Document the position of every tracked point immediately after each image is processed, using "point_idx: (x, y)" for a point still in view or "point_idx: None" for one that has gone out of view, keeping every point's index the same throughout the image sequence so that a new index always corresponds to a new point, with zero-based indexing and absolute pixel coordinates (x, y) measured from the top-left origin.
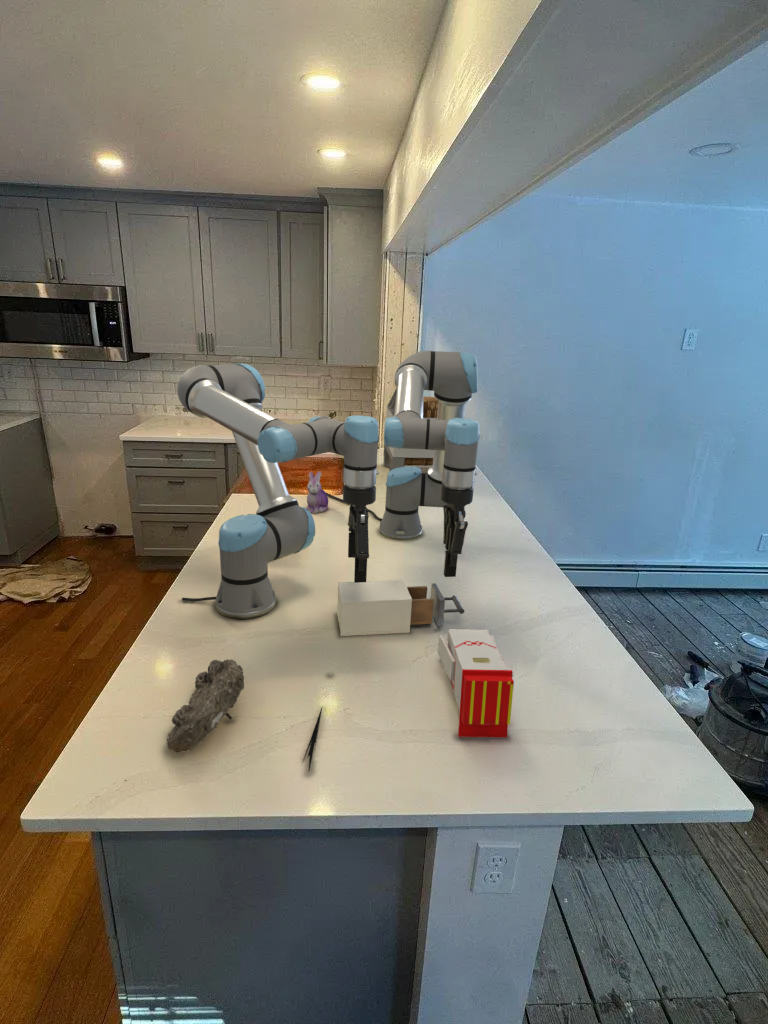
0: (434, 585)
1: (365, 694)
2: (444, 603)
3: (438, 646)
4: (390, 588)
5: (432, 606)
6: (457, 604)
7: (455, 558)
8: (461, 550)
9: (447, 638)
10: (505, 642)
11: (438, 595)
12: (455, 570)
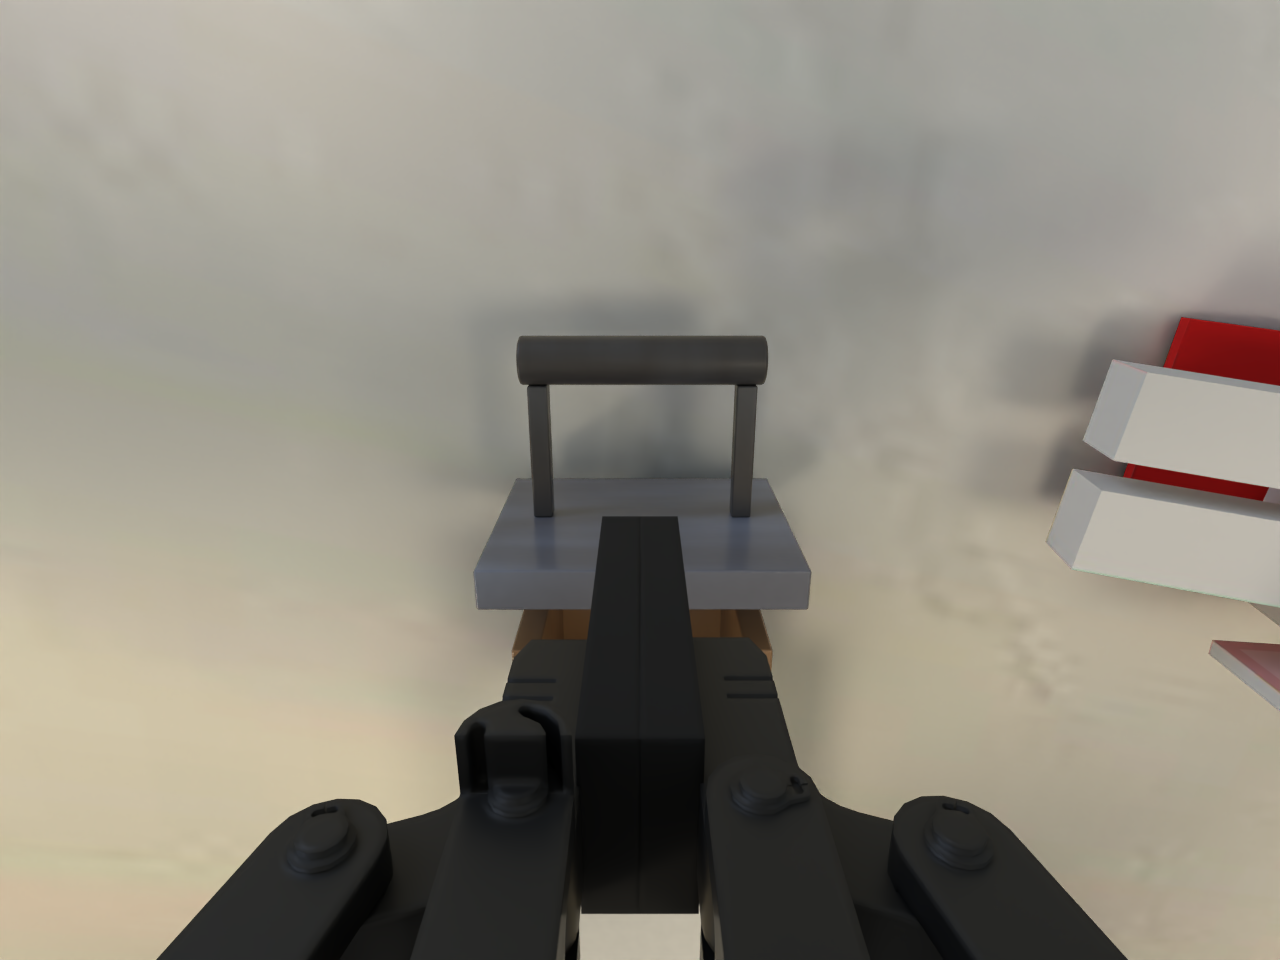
0: (521, 594)
1: (1213, 912)
2: (804, 558)
3: (1244, 679)
4: (618, 948)
5: (762, 622)
6: (678, 379)
7: (784, 743)
8: (1081, 915)
9: (1051, 546)
10: (1018, 45)
11: (718, 605)
12: (679, 563)
